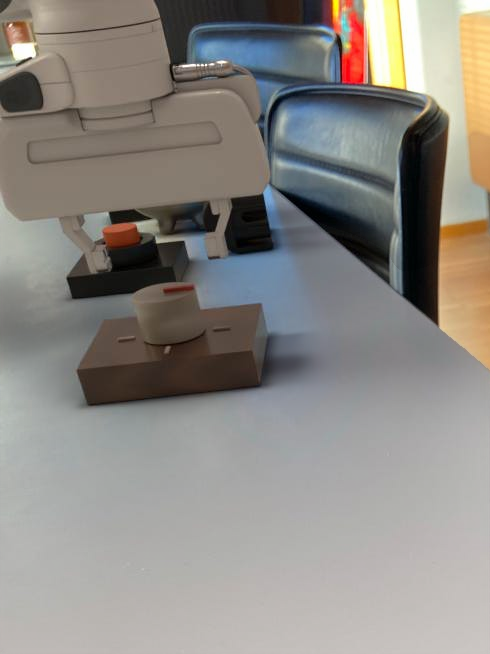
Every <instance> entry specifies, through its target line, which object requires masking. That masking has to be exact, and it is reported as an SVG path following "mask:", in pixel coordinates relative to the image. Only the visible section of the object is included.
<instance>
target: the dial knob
mask: <svg viewBox="0 0 490 654" xmlns="http://www.w3.org/2000/svg"><path fill="white" fill-rule="evenodd" d="M131 301H132V305H133V309H134V312H135V317H136V316H137V320H138V323H139V327H140V331H141V334H142V338H143V340H144V341H145V342H147V343H150V344H157V345H166V344H175V343H180V342H184V341H188V340H191V339H193V338H195V337H197V336H199V335H201V334H202V333H203V332H204V331H205V326H204V322H203V317H202V313H201V305H200V301H199V297H198V293H197V288H196V286H195V284H194V283H189V282H181V281H180V282H171V283H162V284H157V285H152V286H149V287H146V288H143V289H141V290H139V291H137V292H133V294H132V295H131Z"/></svg>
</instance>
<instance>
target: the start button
mask: <svg viewBox="0 0 490 654" xmlns="http://www.w3.org/2000/svg"><path fill="white" fill-rule="evenodd" d="M138 232H139V229H138V225H137V224H136V223H133V222H125V223H118V224H111V225H107V226H105V227H103V228H102V229H101V234H102V236H103V237H102V238H104V240H105V244H106V245H107V246H109V247H116V246H125V245H130V244H134V243H137V242H139V241H141V240H140V236H139V233H138Z"/></svg>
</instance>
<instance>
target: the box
mask: <svg viewBox="0 0 490 654" xmlns="http://www.w3.org/2000/svg"><path fill="white" fill-rule="evenodd" d="M138 233H139V236H140V240H141V241H139V242H137V243H134V244H130V245H125V246H116V247H109V246H107V248H108V251H109V254H108V256H109V257H110V258H111V262H112V269H110V270H111V271H109V272H102V273H94V274H91V272H90V270H89V266H88V263H87V260H86V257H85V253H84V252H83V253H82V255H81V256H80V257H79V259H78V261H76V263H75V264H74V266H73V267H72V268H71V270H70V271H69V273H67V275H66V277H65V279H66V283H67V285H68V286H67V287H68V289H69V293H70V295H71V299H82V298H90V297H100V296H109V295H110V296H111V295H117V294H127V293H135V292H137V291H139V290H141V289H143V288H146V287H149V286H152V285H157V284H162V283H171V282H181V280H182V279H183V276H184V273H185V271H186V269H187V267H188V264H189V262H190V258H189V254H188V253H189V252H188V249H187V245H186V241H185V240H175V241H166V242H157V241H156V236H155V235H154V234H152V233H150V232H145V231H143V232H142V231H138ZM93 242H94V243H95V244H96V245H106V244H105V240H104V237H102V238H100V239H96V240H95V241H93Z"/></svg>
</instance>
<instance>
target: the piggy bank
mask: <svg viewBox="0 0 490 654" xmlns="http://www.w3.org/2000/svg"><path fill="white" fill-rule="evenodd" d="M134 210H136V211H138V212H139V213H141V214H143V215H145V216H148V217H150V218H152V219H153V220H156V224H157V227H158V231H159V233H161V234H162V235H169V234H172V233H174V232H175V230H176V227H177V222H183V221H191V220H192V222H193V224H194V225H195V227H196V228H197V229H199V230H205V227H204V224H203V201H200V202H191V203H183V204H174V205H165V206H156V207H147V208H138V209H134Z"/></svg>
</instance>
